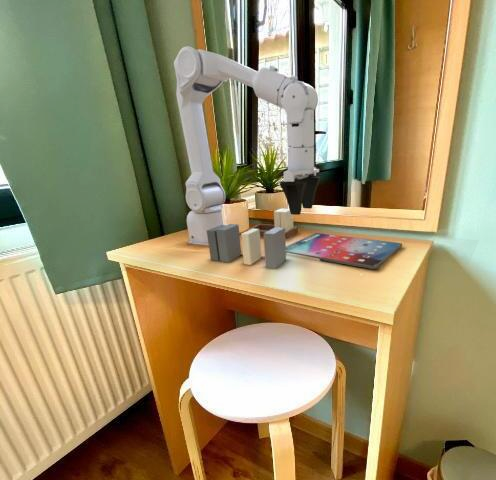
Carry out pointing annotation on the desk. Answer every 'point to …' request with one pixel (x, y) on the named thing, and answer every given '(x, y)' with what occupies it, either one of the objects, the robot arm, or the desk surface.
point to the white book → (251, 246)
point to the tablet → (345, 249)
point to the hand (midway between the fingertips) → (301, 211)
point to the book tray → (265, 228)
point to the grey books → (229, 248)
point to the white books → (283, 219)
